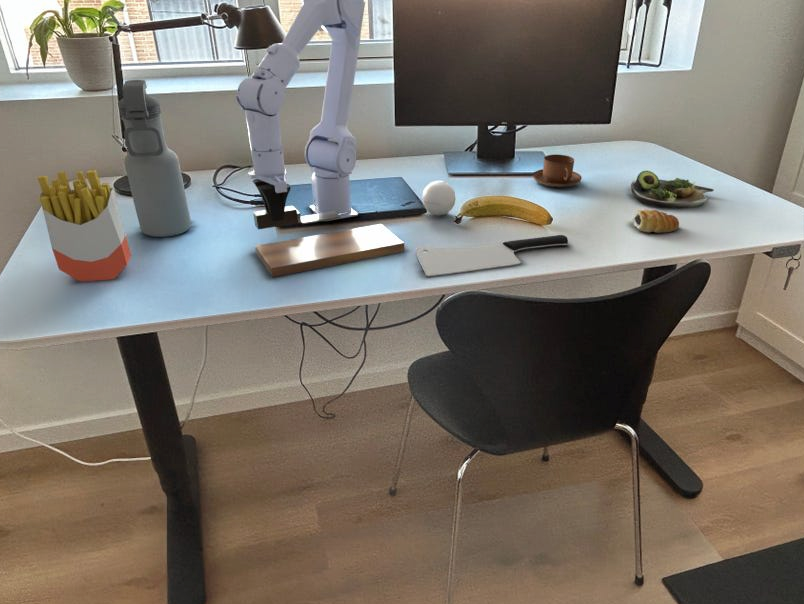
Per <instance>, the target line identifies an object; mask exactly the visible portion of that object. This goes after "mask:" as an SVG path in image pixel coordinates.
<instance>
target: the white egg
mask: <svg viewBox="0 0 804 604" xmlns="http://www.w3.org/2000/svg"><path fill="white" fill-rule="evenodd" d="M421 195H422V197H421V199H418V200H417V201H415V203H417V202H419V201H421V202H422V205H423V207H424V209H425V210H426V211H427V212H428V213H430V214H431V215H434V216H443V215H446V214H448V213H449V212H451V210H453V208H454V206H455V203H456V199H457V198H456V192H455V190H454V188H453V187H452V186H451V185H450V184H449V183H448V182H445V181H443V180H434V181H431V182H429V184H428V185H426V186H425V188H424V189H423V191H422V194H421Z"/></svg>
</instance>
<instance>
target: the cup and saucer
mask: <svg viewBox="0 0 804 604" xmlns="http://www.w3.org/2000/svg"><path fill="white" fill-rule="evenodd" d="M574 165H575V158H574V157H572V156H569V155H565V154H548V155H545V156H544V157H543V168H542V169H538V170H536V171H534V172H533V174H532V178H533V179H534V181H536V182H537V183H538V184H540V185H542V186H545V187H552V188H570V187H574V186H576V185H578V184H579V183H580V182H581V181H582V179H583V177H582V175H581V174H580V173H578V172H576V171H574Z"/></svg>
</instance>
